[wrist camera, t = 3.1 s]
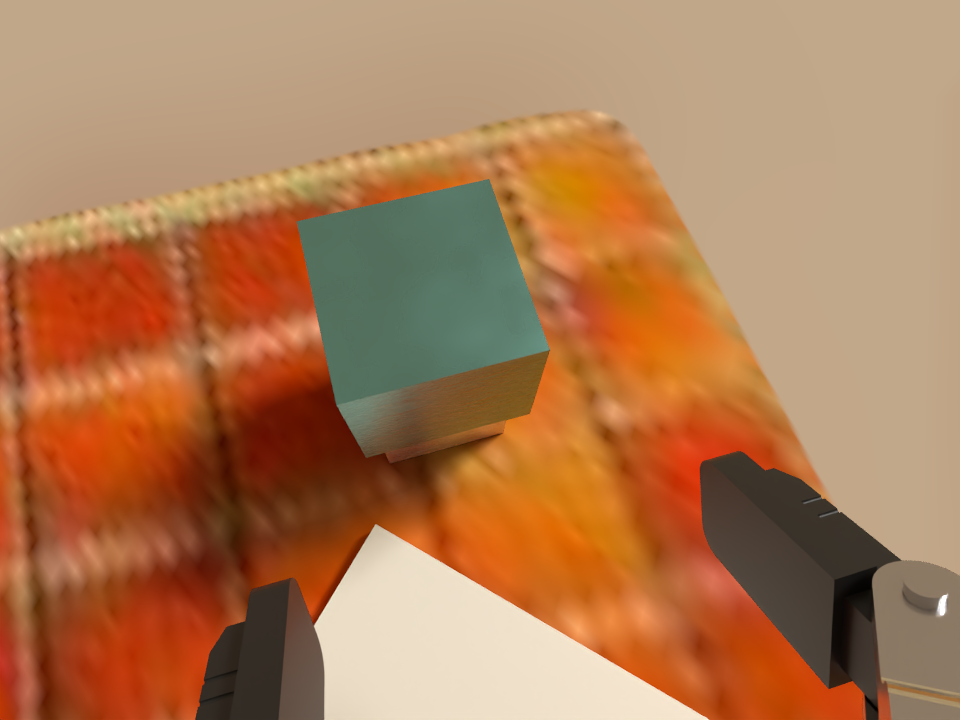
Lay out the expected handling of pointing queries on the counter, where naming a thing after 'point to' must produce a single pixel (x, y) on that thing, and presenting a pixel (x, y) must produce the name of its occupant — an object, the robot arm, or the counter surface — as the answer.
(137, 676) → the counter surface
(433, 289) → the sage green cube
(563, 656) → the cream board
